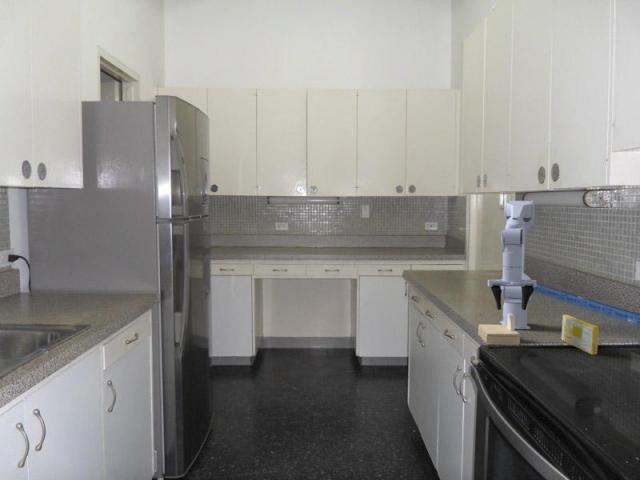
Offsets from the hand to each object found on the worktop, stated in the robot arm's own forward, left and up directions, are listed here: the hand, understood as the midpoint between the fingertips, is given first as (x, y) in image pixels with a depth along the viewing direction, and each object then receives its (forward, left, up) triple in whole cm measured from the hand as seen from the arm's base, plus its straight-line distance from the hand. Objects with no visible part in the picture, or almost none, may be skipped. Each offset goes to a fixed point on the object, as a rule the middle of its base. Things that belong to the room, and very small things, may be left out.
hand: (511, 309), depth 172 cm
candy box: (+7, +18, -10) cm, 22 cm away
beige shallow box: (0, -4, -10) cm, 11 cm away
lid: (0, -4, -7) cm, 8 cm away
